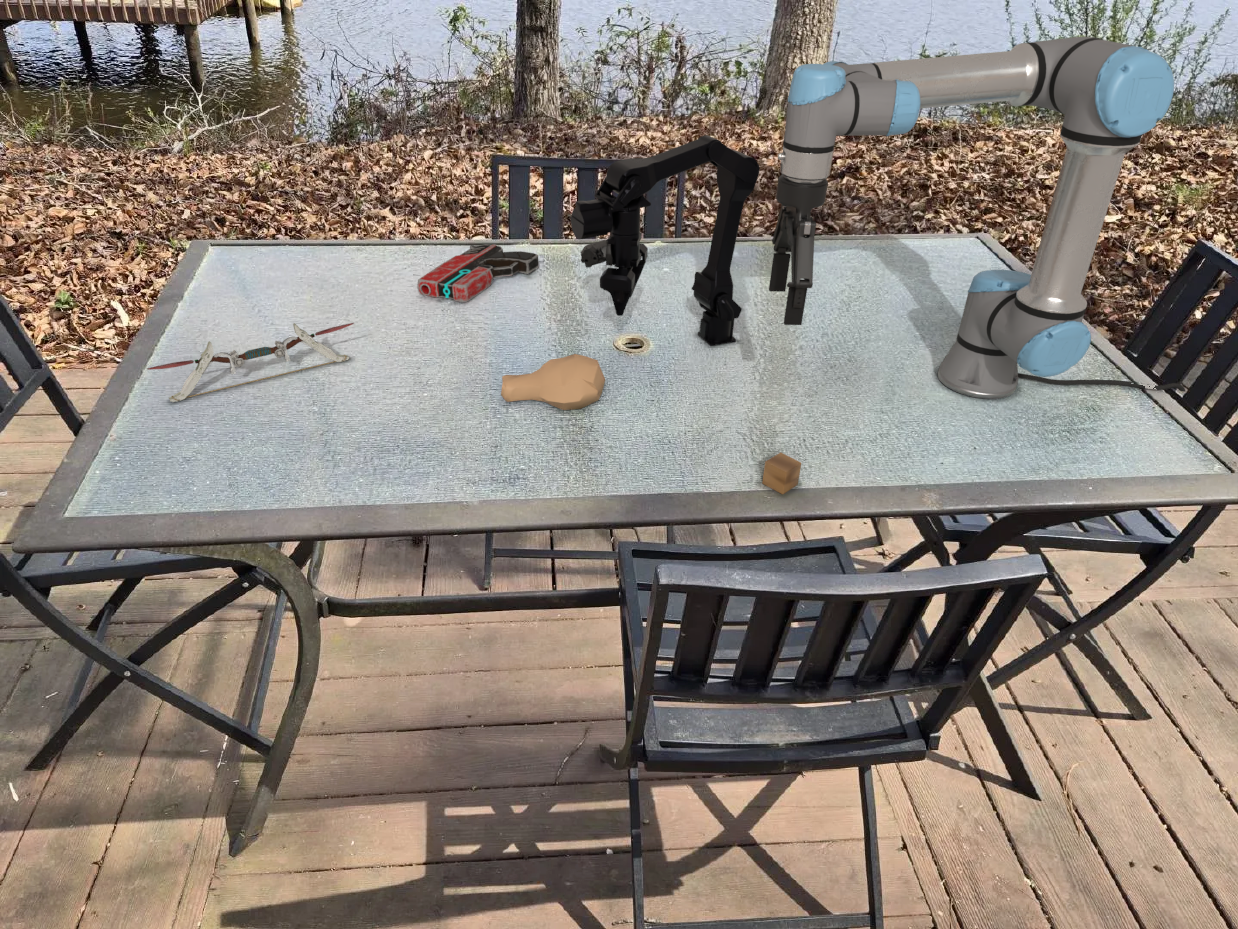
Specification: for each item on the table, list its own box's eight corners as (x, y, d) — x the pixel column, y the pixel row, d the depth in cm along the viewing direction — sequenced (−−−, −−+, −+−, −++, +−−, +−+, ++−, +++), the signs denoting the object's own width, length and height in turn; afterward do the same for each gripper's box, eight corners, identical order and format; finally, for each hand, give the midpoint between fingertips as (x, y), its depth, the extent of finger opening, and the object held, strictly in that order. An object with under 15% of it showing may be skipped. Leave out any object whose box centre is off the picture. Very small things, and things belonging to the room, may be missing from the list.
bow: (357, 354, 182) (350, 309, 176) (360, 358, 181) (353, 313, 175) (156, 402, 164) (141, 354, 158) (158, 406, 162) (143, 358, 157)
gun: (542, 248, 224) (475, 239, 230) (485, 289, 199) (411, 278, 205) (543, 265, 226) (476, 256, 232) (486, 308, 202) (414, 296, 207)
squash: (607, 416, 164) (601, 378, 158) (502, 424, 166) (492, 387, 160) (608, 380, 172) (602, 343, 166) (508, 388, 174) (499, 351, 167)
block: (777, 474, 149) (780, 452, 147) (797, 484, 147) (801, 462, 144) (761, 483, 147) (765, 461, 144) (782, 494, 144) (786, 472, 142)
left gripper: (594, 212, 177) (595, 284, 186) (572, 244, 162) (574, 321, 171) (649, 216, 176) (647, 289, 184) (631, 248, 161) (630, 326, 169)
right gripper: (765, 154, 143) (750, 277, 155) (795, 200, 123) (775, 339, 134) (810, 155, 144) (792, 278, 155) (848, 202, 123) (823, 339, 135)
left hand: (624, 305), depth 177 cm, fingers open, 9 cm apart
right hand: (784, 306), depth 145 cm, fingers open, 13 cm apart
